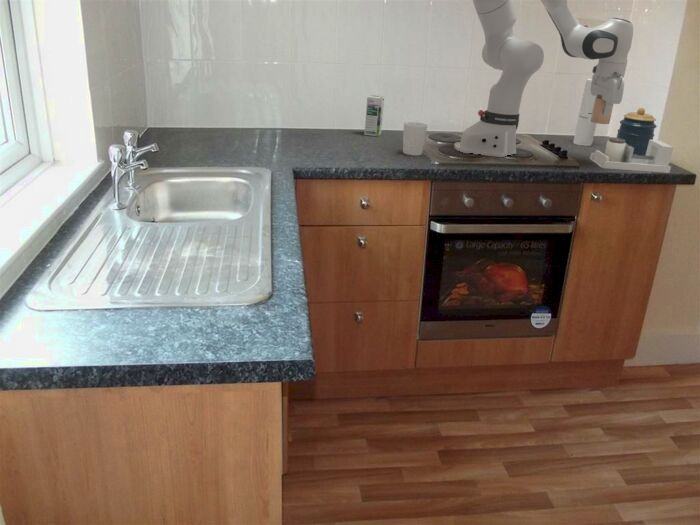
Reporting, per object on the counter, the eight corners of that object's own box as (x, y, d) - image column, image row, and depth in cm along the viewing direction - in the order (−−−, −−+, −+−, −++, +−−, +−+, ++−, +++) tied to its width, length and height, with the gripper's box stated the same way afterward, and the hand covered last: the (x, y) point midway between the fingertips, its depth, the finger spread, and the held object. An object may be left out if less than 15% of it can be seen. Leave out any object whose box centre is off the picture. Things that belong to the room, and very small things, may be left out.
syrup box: (363, 135, 243) (367, 96, 237) (366, 132, 248) (370, 94, 242) (378, 136, 242) (382, 97, 236) (381, 133, 247) (384, 95, 241)
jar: (611, 124, 215) (617, 97, 212) (594, 123, 215) (599, 96, 212) (605, 121, 221) (611, 94, 217) (588, 120, 221) (593, 93, 217)
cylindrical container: (592, 146, 253) (607, 81, 243) (574, 144, 254) (587, 80, 244) (590, 143, 260) (604, 79, 250) (572, 141, 261) (585, 78, 251)
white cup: (426, 152, 223) (429, 123, 219) (420, 157, 216) (424, 127, 212) (404, 149, 225) (407, 121, 221) (398, 154, 218) (401, 124, 214)
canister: (607, 153, 244) (617, 106, 237) (620, 149, 253) (631, 103, 246) (641, 160, 236) (653, 112, 229) (653, 156, 245) (665, 109, 238)
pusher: (626, 167, 219) (631, 147, 216) (615, 160, 228) (620, 141, 225) (656, 170, 219) (662, 149, 216) (644, 162, 228) (649, 143, 225)
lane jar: (606, 166, 221) (612, 140, 217) (599, 161, 226) (605, 136, 223) (623, 167, 221) (629, 141, 217) (616, 163, 226) (622, 137, 223)
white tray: (602, 169, 218) (608, 143, 214) (589, 160, 230) (595, 135, 226) (668, 174, 218) (676, 148, 214) (652, 165, 230) (659, 139, 226)
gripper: (632, 75, 202) (622, 119, 207) (609, 68, 221) (600, 108, 226) (612, 74, 202) (603, 118, 207) (591, 66, 220) (582, 107, 226)
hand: (601, 113), depth 217 cm, fingers closed on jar, 6 cm apart
